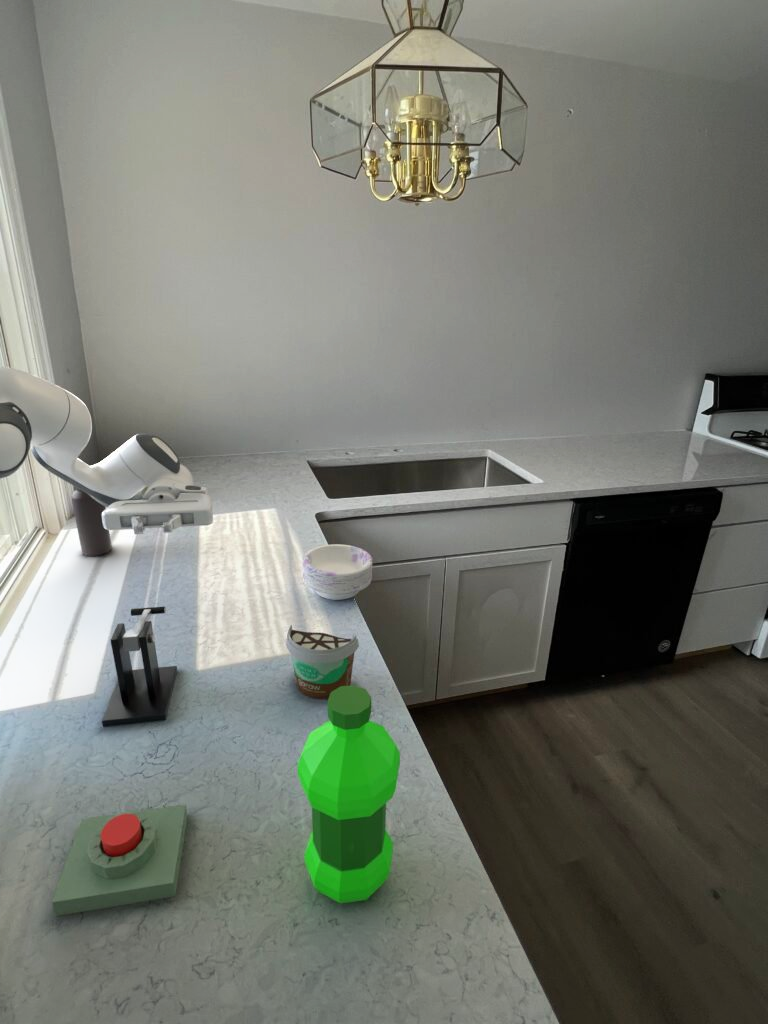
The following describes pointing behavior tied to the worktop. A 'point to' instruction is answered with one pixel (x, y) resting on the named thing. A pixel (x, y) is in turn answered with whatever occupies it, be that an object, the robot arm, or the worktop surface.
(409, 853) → the worktop surface
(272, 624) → the worktop surface
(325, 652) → the food container
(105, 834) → the button
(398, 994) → the worktop surface
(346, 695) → the plastic bottle
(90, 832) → the button box
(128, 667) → the bracket
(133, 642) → the lever
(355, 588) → the paper bowls
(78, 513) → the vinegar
